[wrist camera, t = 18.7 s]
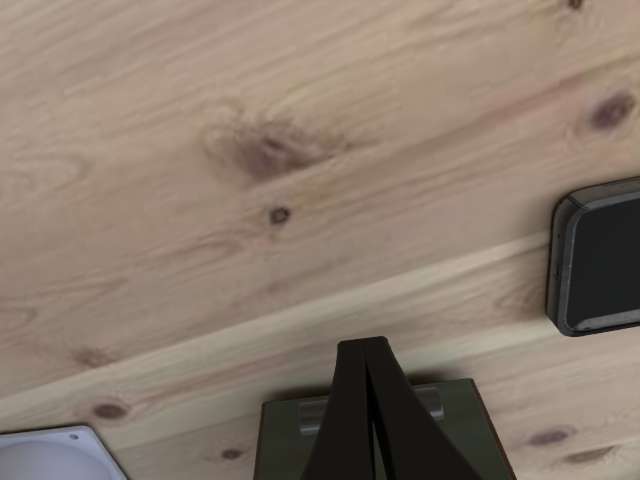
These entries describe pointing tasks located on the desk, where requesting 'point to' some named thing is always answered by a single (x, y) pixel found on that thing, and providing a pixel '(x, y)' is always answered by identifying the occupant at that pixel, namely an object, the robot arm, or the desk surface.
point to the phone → (596, 260)
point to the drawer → (307, 413)
